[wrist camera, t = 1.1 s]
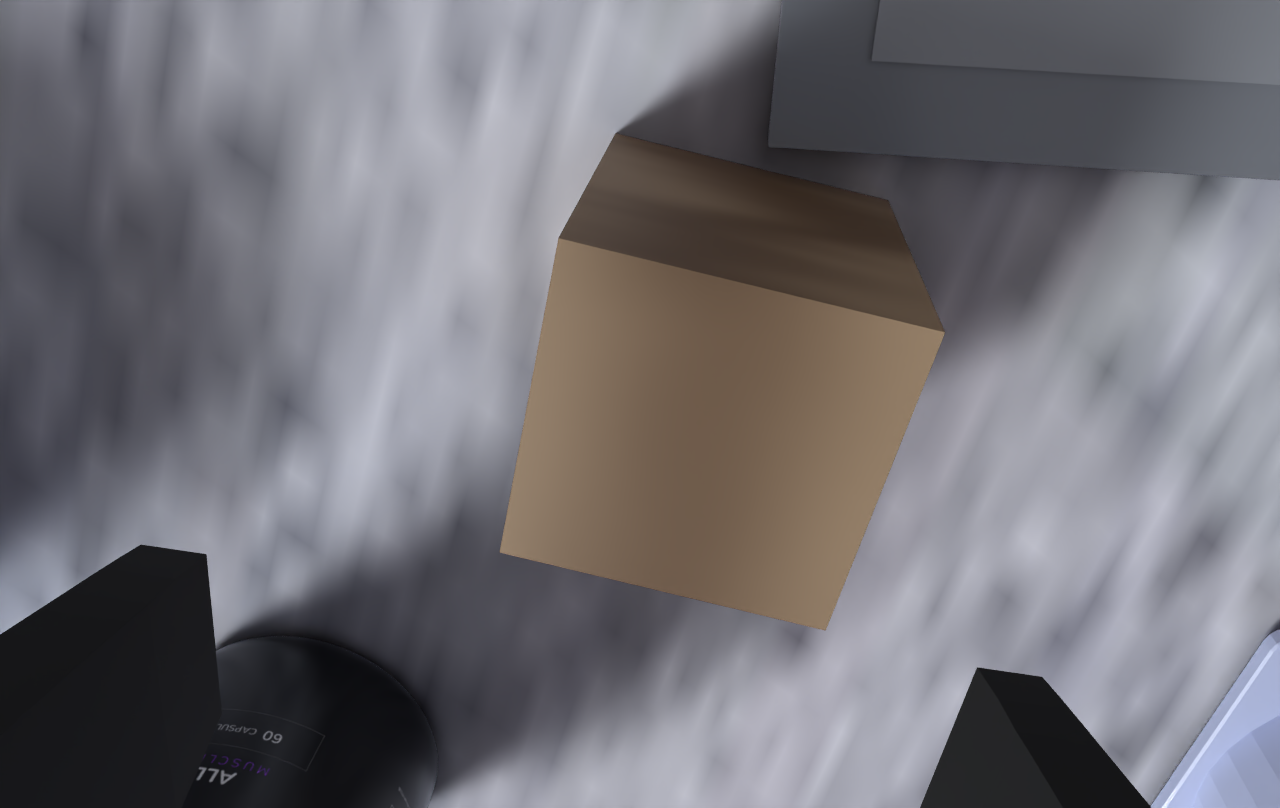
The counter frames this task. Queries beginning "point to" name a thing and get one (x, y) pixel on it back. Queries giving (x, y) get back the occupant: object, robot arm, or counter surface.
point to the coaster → (1035, 82)
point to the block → (719, 382)
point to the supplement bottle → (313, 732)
